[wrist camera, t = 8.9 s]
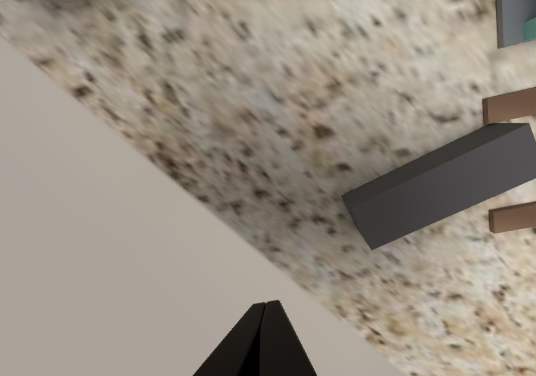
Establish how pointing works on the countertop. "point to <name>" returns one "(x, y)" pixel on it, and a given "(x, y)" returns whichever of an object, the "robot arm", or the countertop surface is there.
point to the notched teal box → (530, 30)
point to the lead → (444, 182)
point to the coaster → (513, 20)
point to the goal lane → (501, 111)
